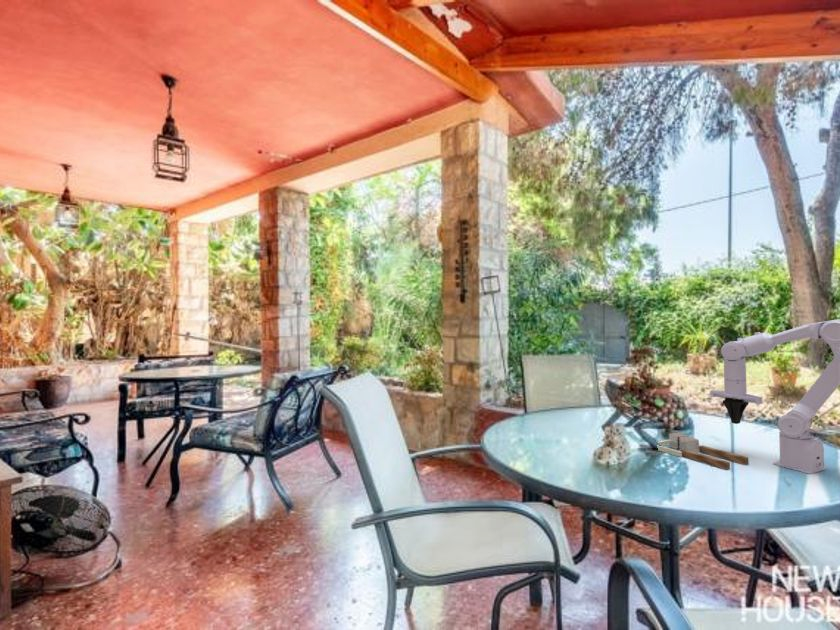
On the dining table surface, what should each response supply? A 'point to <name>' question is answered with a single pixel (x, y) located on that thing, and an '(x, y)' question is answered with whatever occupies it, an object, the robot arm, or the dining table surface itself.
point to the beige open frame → (668, 450)
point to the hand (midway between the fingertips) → (735, 423)
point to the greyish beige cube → (675, 440)
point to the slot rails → (715, 453)
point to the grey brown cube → (689, 444)
